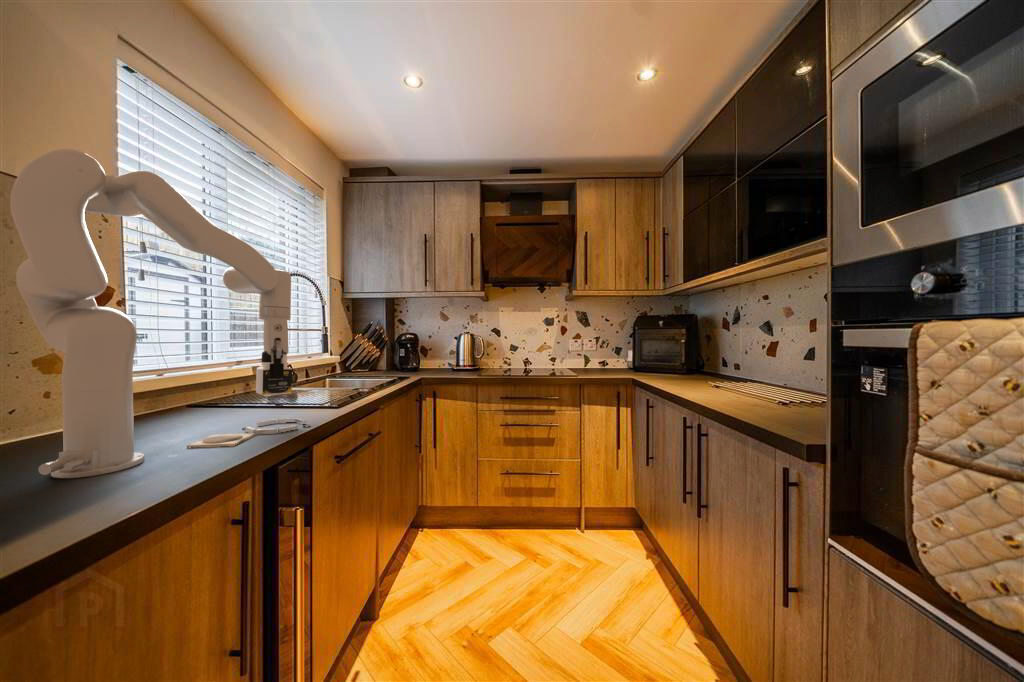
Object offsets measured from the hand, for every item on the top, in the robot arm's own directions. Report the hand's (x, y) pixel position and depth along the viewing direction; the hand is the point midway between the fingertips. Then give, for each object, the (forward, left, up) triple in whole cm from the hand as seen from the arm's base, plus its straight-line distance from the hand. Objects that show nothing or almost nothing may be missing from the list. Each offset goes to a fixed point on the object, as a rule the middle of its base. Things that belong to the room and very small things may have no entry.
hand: (274, 377), depth 109 cm
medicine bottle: (0, 0, -5) cm, 5 cm away
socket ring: (+1, 0, -14) cm, 14 cm away
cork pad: (-12, +7, -14) cm, 20 cm away
